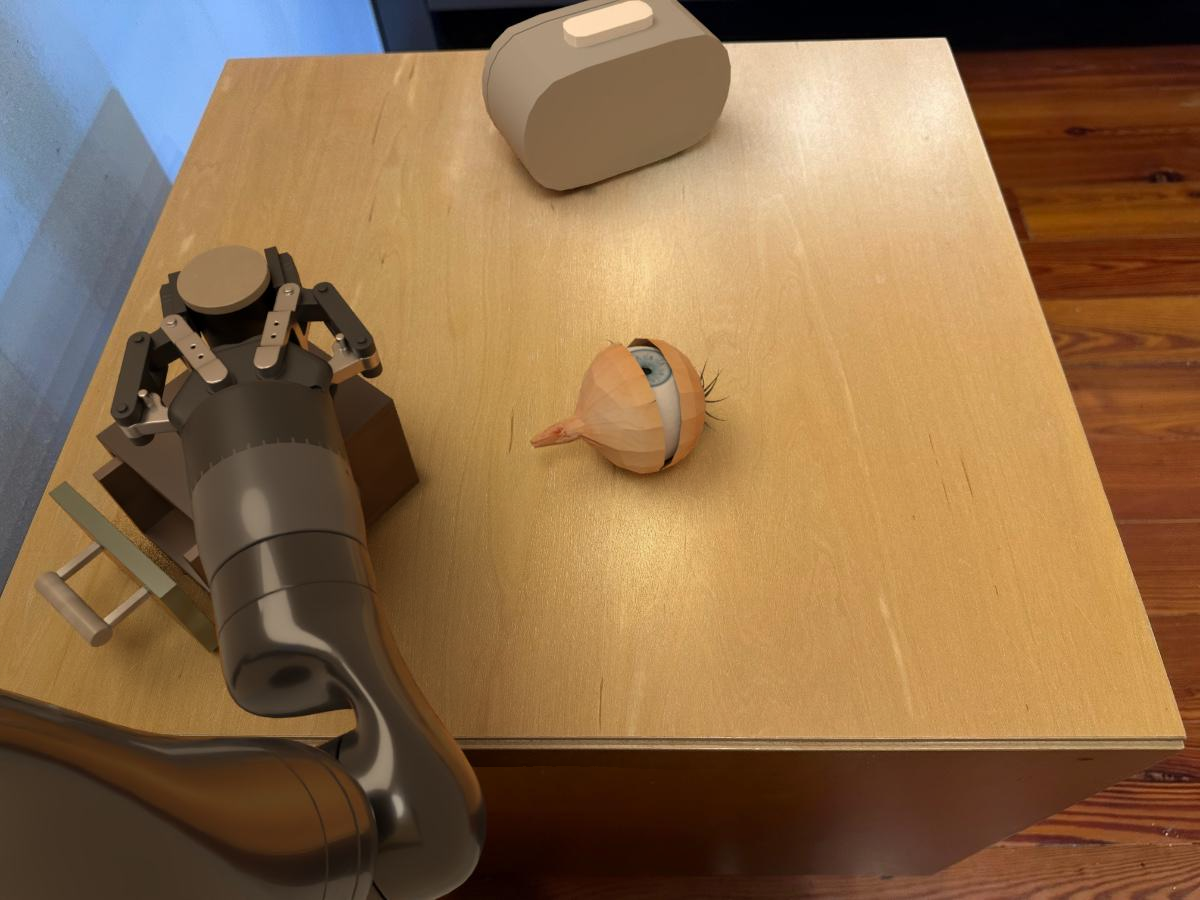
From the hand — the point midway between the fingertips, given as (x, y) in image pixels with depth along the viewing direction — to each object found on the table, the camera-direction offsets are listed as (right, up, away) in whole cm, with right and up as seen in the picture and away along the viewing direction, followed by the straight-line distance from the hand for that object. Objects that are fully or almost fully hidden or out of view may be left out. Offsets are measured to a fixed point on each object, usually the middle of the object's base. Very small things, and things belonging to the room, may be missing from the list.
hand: (227, 271), depth 54 cm
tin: (+1, -5, +3) cm, 7 cm away
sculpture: (+24, -10, +14) cm, 30 cm away
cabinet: (0, -14, +12) cm, 18 cm away
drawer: (-5, -18, +8) cm, 20 cm away
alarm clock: (+22, +18, +35) cm, 45 cm away
